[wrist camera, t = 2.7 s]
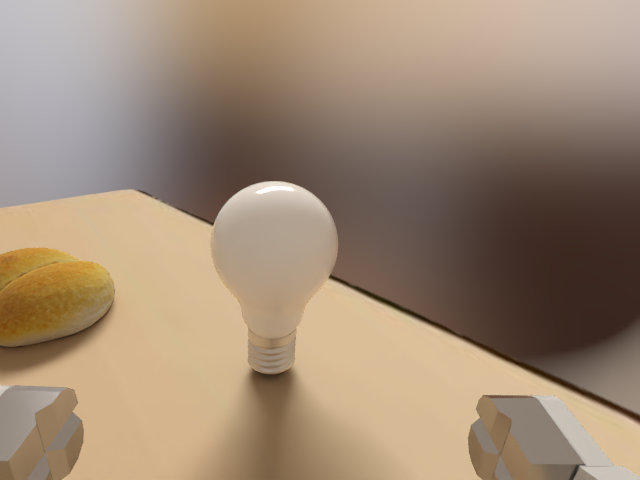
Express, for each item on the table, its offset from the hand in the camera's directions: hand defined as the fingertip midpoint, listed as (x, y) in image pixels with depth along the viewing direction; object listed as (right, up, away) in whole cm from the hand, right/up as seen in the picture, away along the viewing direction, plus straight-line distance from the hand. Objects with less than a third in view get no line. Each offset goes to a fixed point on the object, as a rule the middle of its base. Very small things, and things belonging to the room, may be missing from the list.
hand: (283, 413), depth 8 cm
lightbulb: (-2, -4, +15) cm, 16 cm away
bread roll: (-18, -1, +19) cm, 26 cm away
